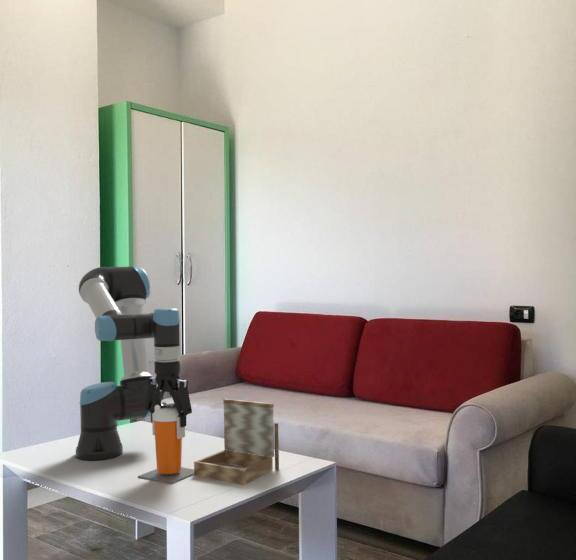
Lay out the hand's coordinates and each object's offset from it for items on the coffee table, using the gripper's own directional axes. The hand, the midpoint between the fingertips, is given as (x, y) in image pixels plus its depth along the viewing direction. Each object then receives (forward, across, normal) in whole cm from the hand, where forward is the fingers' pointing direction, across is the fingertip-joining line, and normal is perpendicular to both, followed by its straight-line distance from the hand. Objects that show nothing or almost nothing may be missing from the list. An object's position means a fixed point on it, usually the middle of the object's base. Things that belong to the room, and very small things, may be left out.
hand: (168, 435), depth 198 cm
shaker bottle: (+11, 0, 0) cm, 11 cm away
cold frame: (+12, +17, +12) cm, 23 cm away
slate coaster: (+12, 0, 0) cm, 12 cm away
